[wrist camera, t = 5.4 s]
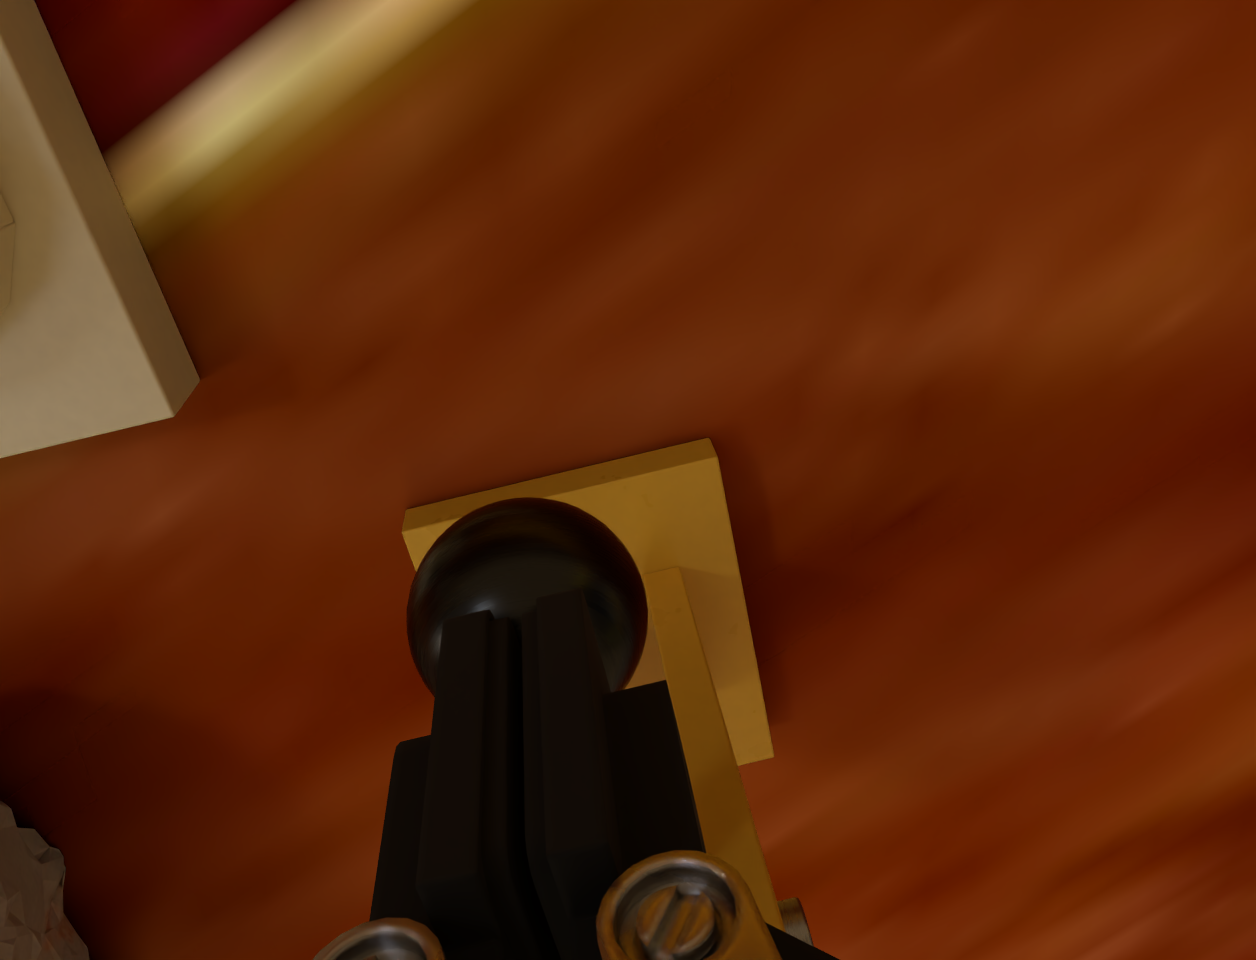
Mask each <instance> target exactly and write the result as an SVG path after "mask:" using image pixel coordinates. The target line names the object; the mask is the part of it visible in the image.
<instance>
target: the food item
mask: <svg viewBox="0 0 1256 960" xmlns="http://www.w3.org/2000/svg"><path fill="white" fill-rule="evenodd" d="M65 872H66V867H65V866H64V856H63V855H62V853H61V852H60V850H59V849H57V848H52V847H49V845H48V844H47V843H46V842H45V841H44V840H43V838H42V837H41V836H40V835H39V834H38V833H37V831H36V830H35V829H28V828H17V826H16V823H15V820H14V816H13V813H12V810H11V808H10V807H9V806H7V805H6V804H4V803H3V802H2V801H0V960H89V953H88V948H87V946H86V945H85V944H84V942H83V941H82V940H81V938H80V937H79V935H78V934H77V933H76V931H75V930H74V928H73V927H72V925H71V923H70V922H69V920H68V919H67V917H66V916H65V914H64V913H63V885H64V878H65Z"/></svg>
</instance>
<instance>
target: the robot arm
mask: <svg viewBox="0 0 1256 960" xmlns="http://www.w3.org/2000/svg"><path fill="white" fill-rule="evenodd" d="M536 607H537V610H535V611H531V612H527V613H523V614H522V651H521V648H520V645H519V642H518V639H517V635H516V632H515V629H514V626H513V624H512V621H511V619H510V618H509V617H506V618H501V619H497V620H495V618H494V616H493V614H492V612H491V611H490V610H489V609H487V610H483V611H479V612H474V613H470V614H466V615H462V616H457V617H453V618H449V619H445V620H444V621H443V625H442V634H441V644H440V653H439V663H438V672H437V682H436V692H435V701H434V711H433V720H432V730H431V735H428V736H424V737H419V738H415V739H411V740H407V741H402V742H400V743H399V744H398V745H397V746H396V750H395V754H394V759H393V766H392V772H391V779H390V786H389V793H388V799H387V806H386V813H385V820H384V826H383V833H382V840H381V846H380V853H379V860H378V867H377V873H376V880H375V887H374V894H373V900H372V907H371V914H370V921H369V922H366V923H363V924H361V925H359V926H357V927H355V928H353V929H351V930H349V931H347V932H345V933H343V934H341V935H339V936H338V937H337V938H336V939H334V940H333V941H332V942H331V943H329V944H328V945H327V946H325V947H324V948H323V949H322V950H320V952H319V953H318V954H317V955H316V956H315V957H314V959H313V960H839V959H837V958H835V957H833V956H831V955H829V954H827V953H825V952H823V951H821V950H819V949H817V948H815V947H813V946H811V945H809V944H807V943H806V942H804V941H802V940H800V939H798V938H796V937H794V936H792V935H790V934H788V933H786V932H784V931H782V930H780V929H778V928H776V927H774V926H772V925H770V924H768V923H766V922H765V921H764V919H763V917H762V915H761V912H760V910H759V908H758V906H757V904H756V902H755V899H754V897H753V895H752V893H751V891H750V888H749V886H748V885H747V883H746V882H745V881H744V879H743V878H742V876H741V875H740V874H739V872H738V871H737V869H735V868H734V867H732V866H731V865H730V864H728V863H727V862H725V861H724V860H722V859H721V858H720V857H717V856H713V855H710V854H707V853H706V849H705V844H704V840H703V835H702V830H701V826H700V821H699V817H698V812H697V808H696V803H695V799H694V794H693V790H692V785H691V781H690V776H689V772H688V768H687V763H686V759H685V755H684V751H683V746H682V742H681V738H680V734H679V730H678V725H677V721H676V717H675V713H674V709H673V705H672V701H671V697H670V693H669V689H668V685H667V681H666V680H662V681H658V682H654V683H650V684H645V685H641V686H637V687H633V688H628V689H624V690H620V691H616V692H611V690H610V686H609V683H608V679H607V675H606V672H605V668H604V665H603V661H602V657H601V654H600V650H599V647H598V643H597V639H596V636H595V632H594V629H593V625H592V621H591V618H590V614H589V610H588V607H587V603H586V600H585V596H584V593H583V591H582V589H581V588H576V589H572V590H568V591H564V592H559V593H555V594H551V595H547V596H542V597H538V598H537V600H536Z"/></svg>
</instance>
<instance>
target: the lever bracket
mask: <svg viewBox="0 0 1256 960" xmlns="http://www.w3.org/2000/svg"><path fill="white" fill-rule="evenodd" d="M522 497H535V498H546V499H552V500H557V501H561V502H564V503H568V504H570V505H573V506H575V507H578V508H580V509H582V510H584V511H585V512H587V513H589V514H591V515H592V516H594V517H596V518H597V519H598V520H600V521H601V522H602V523H604V524H605V525H606V526H607V527H608V528H609V529H610V530H611V531H612V532H613V533H614V534H615V535H616V536H617V537H618V538H619V539H620V540H621V541H622V543H623V544H624V545H625V547H626V548H627V549H628V551H629V553H630V554H631V556H632V558H633V560H634V561H635V563H636V565H637V567H638V569H639V572H640V575H641V578H642V581H643V584H644V587H645V592H646V598H647V606H648V629H647V637H646V642H645V646H644V650H643V654H642V657H641V659H640V662H639V665H638V667H637V669H636V671H635V673H634V675H633V676H632V678H631V680H630V682H629V684H628V685H627V686H626V688H625V689H628V688H633V687H637V686H641V685H645V684H650V683H654V682H658V681H662V680H666V681H667V685H668V689H669V693H670V697H671V701H672V705H673V709H674V713H675V717H676V721H677V725H678V730H679V734H680V738H681V742H682V746H683V751H684V755H685V759H686V763H687V768H688V772H689V776H690V781H691V785H692V790H693V794H694V799H695V803H696V808H697V812H698V817H699V821H700V826H701V830H702V835H703V840H704V844H705V849H706V853H707V854H710V855H713V856H717V857H720V858H721V859H722V860H724V861H725V862H727V863H728V864H730V865H731V866H732V867H734V868H735V869H737V871H738V872H739V874H740V875H741V876H742V878H743V879H744V881H745V882H746V883H747V885H748V886H749V888H750V891H751V893H752V895H753V897H754V899H755V902H756V904H757V906H758V908H759V910H760V912H761V915H762V917H763V919H764V921H765V922H766V923H768V924H770V925H772V926H774V927H776V928H778V929H780V930H782V931H784V932H786V933H788V934H790V935H792V936H794V937H796V938H798V939H800V940H802V941H804V942H806V943H807V944H809V945H811V946H813V942H812V938H811V934H810V930H809V927H808V923H807V920H806V917H805V913H804V910H803V907H802V905H801V902H800V900H799V899H798V898H796V897H794V898H790V899H786V900H782V901H777V900H776V897H775V893H774V890H773V887H772V883H771V880H770V876H769V873H768V869H767V866H766V862H765V859H764V855H763V852H762V849H761V845H760V842H759V838H758V835H757V831H756V828H755V824H754V821H753V818H752V814H751V811H750V807H749V804H748V800H747V797H746V793H745V790H744V786H743V783H742V780H741V776H740V773H739V769H738V766H739V765H743V764H747V763H751V762H756V761H760V760H764V759H768V758H772V757H774V751H773V745H772V740H771V735H770V729H769V724H768V719H767V714H766V708H765V703H764V698H763V692H762V687H761V682H760V677H759V671H758V666H757V661H756V655H755V650H754V645H753V640H752V634H751V629H750V624H749V619H748V613H747V608H746V603H745V597H744V592H743V587H742V582H741V576H740V571H739V566H738V560H737V555H736V550H735V545H734V539H733V534H732V529H731V523H730V518H729V513H728V508H727V502H726V497H725V492H724V486H723V481H722V476H721V471H720V465H719V460H718V456H717V454H716V452H715V449H714V447H713V445H712V442H711V440H710V438H705V439H700V440H696V441H692V442H688V443H684V444H679V445H675V446H671V447H667V448H663V449H658V450H654V451H650V452H646V453H642V454H638V455H633V456H629V457H625V458H621V459H617V460H612V461H608V462H604V463H600V464H596V465H591V466H587V467H583V468H579V469H575V470H570V471H566V472H562V473H558V474H554V475H549V476H545V477H541V478H537V479H533V480H528V481H524V482H520V483H516V484H512V485H507V486H503V487H499V488H495V489H491V490H486V491H482V492H478V493H474V494H470V495H465V496H461V497H457V498H453V499H449V500H444V501H440V502H436V503H432V504H428V505H423V506H419V507H415V508H411V509H407V510H406V512H405V517H404V523H403V528H402V535H403V538H404V540H405V543H406V546H407V549H408V551H409V554H410V557H411V559H412V562H413V565H414V568H415V570H416V572H417V570H418V567H419V565H420V563H421V561H422V560H423V558H424V556H425V554H426V553H427V552H428V550H429V549H430V547H431V546H432V545H433V543H434V542H435V541H436V540H437V538H438V537H439V536H440V535H441V534H442V533H443V532H444V531H445V530H446V529H447V528H449V527H450V526H451V525H452V524H453V523H455V522H456V521H458V520H459V519H460V518H462V517H463V516H465V515H466V514H468V513H470V512H472V511H473V510H475V509H478V508H480V507H482V506H485V505H487V504H491V503H494V502H497V501H501V500H506V499H512V498H522ZM813 947H814V946H813Z"/></svg>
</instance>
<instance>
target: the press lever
mask: <svg viewBox="0 0 1256 960" xmlns="http://www.w3.org/2000/svg"><path fill="white" fill-rule="evenodd" d="M576 588H581V589H582V591H583V593H584V596H585V600H586V603H587V607H588V610H589V614H590V618H591V621H592V625H593V629H594V632H595V636H596V639H597V643H598V647H599V650H600V654H601V657H602V661H603V665H604V668H605V672H606V675H607V679H608V683H609V686H610V690H611V692H616V691H620V690H624V689H625V688H626V686H627V685H628V684H629V682H630V680H631V678H632V676H633V675H634V673H635V671H636V669H637V667H638V665H639V662H640V659H641V657H642V654H643V650H644V646H645V642H646V637H647V629H648V606H647V598H646V592H645V587H644V584H643V581H642V578H641V575H640V572H639V569H638V567H637V565H636V563H635V561H634V560H633V558H632V556H631V554H630V553H629V551H628V549H627V548H626V547H625V545H624V544H623V543H622V541H621V540H620V539H619V538H618V537H617V536H616V535H615V534H614V533H613V532H612V531H611V530H610V529H609V528H608V527H607V526H606V525H605V524H604V523H602V522H601V521H600V520H598V519H597V518H596V517H594V516H592V515H591V514H589V513H587V512H585V511H584V510H582V509H580V508H578V507H575V506H573V505H570V504H568V503H564V502H561V501H557V500H552V499H546V498H535V497H522V498H512V499H506V500H501V501H497V502H494V503H491V504H487V505H485V506H482V507H480V508H478V509H475V510H473V511H472V512H470V513H468V514H466V515H465V516H463V517H462V518H460V519H459V520H458V521H456V522H455V523H453V524H452V525H451V526H450V527H449V528H447V529H446V530H445V531H444V532H443V533H442V534H441V535H440V536H439V537H438V538H437V540H436V541H435V542H434V543H433V545H432V546H431V547H430V549H429V550H428V552H427V553H426V554H425V556H424V558H423V560H422V561H421V563H420V565H419V567H418V570H417V572H416V575H415V577H414V580H413V583H412V585H411V589H410V594H409V599H408V605H407V635H408V642H409V646H410V651H411V655H412V657H413V660H414V663H415V666H416V668H417V670H418V672H419V674H420V676H421V678H422V680H423V682H424V684H425V685H426V687H427V688H428V689H429V690H430V692H431V693H432V694H433V696H434V697H435V692H436V682H437V672H438V663H439V653H440V644H441V634H442V625H443V621H444V620H445V619H449V618H453V617H457V616H462V615H466V614H470V613H474V612H479V611H483V610H487V609H489V610H490V611H491V612H492V614H493V616H494V618H495V620H497V619H501V618H506V617H509V618H510V619H511V621H512V624H513V626H514V629H515V632H516V635H517V639H518V642H519V645H520V648H521V651H522V614H523V613H527V612H531V611H535V610H537V607H536V600H537V598H538V597H542V596H547V595H551V594H555V593H559V592H564V591H568V590H572V589H576Z"/></svg>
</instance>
